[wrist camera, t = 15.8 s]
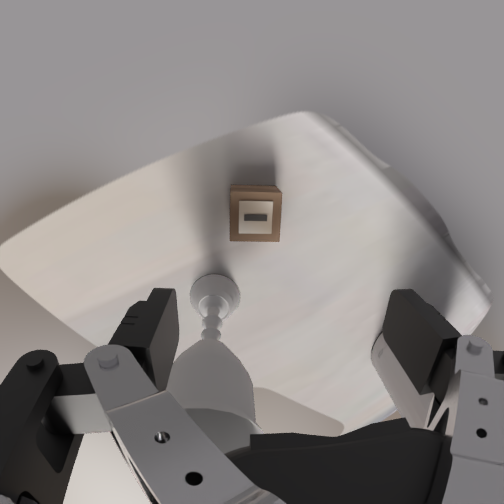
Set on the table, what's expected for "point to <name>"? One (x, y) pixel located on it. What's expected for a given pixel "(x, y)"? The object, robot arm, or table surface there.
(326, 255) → the table surface
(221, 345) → the chalice
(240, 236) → the walnut cube
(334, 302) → the table surface
